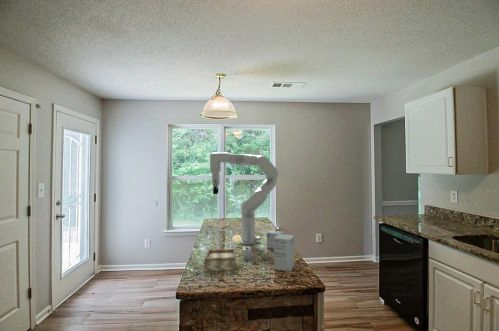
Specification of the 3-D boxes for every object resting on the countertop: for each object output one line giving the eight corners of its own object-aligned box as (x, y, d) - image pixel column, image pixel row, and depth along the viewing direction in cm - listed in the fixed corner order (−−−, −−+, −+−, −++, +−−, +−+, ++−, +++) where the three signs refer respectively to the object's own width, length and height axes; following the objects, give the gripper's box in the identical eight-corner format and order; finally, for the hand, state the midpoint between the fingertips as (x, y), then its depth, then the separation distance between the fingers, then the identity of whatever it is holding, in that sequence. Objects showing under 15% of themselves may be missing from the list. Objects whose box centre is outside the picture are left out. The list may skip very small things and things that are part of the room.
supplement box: (279, 263, 156) (278, 233, 156) (295, 265, 152) (294, 235, 152) (273, 269, 147) (273, 237, 147) (290, 271, 143) (290, 239, 143)
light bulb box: (284, 247, 187) (284, 231, 187) (281, 250, 181) (281, 233, 181) (270, 245, 192) (269, 230, 192) (266, 248, 186) (266, 232, 186)
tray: (235, 260, 162) (235, 249, 162) (234, 270, 146) (234, 257, 147) (208, 260, 162) (208, 249, 162) (204, 270, 146) (204, 258, 146)
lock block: (250, 255, 170) (250, 244, 170) (251, 259, 163) (251, 248, 163) (242, 256, 170) (242, 245, 170) (243, 259, 163) (242, 248, 163)
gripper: (220, 169, 191) (220, 194, 191) (221, 169, 208) (221, 192, 208) (209, 170, 191) (209, 194, 191) (211, 169, 208) (211, 192, 208)
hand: (215, 193), depth 199 cm, fingers open, 9 cm apart
